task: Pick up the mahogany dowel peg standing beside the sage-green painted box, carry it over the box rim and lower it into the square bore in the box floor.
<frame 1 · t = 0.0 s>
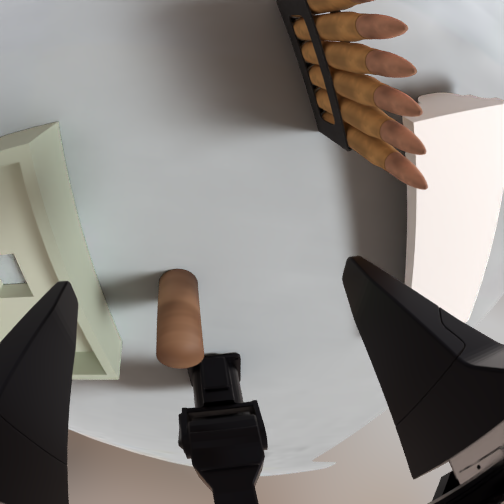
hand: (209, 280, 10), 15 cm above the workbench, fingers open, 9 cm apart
ammunition clip: (310, 62, 19), on the workbench
box: (11, 263, 24), on the workbench
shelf: (428, 226, 31), on the workbench
peg: (178, 284, 29), on the workbench
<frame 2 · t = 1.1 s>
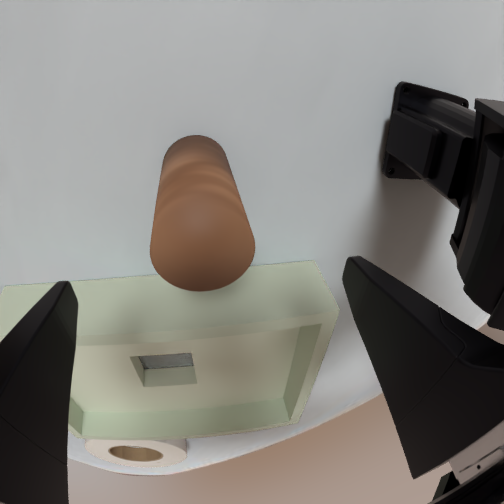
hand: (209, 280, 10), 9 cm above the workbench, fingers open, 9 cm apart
box: (164, 352, 26), on the workbench
peg: (195, 165, 17), on the workbench
roll of tape: (135, 437, 39), on the workbench
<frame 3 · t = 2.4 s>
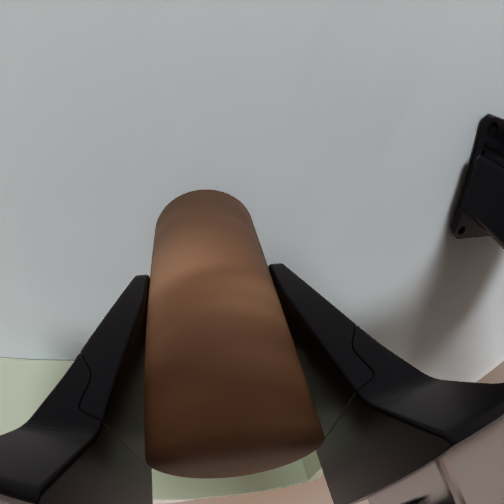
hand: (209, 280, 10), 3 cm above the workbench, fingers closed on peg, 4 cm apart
box: (169, 423, 21), on the workbench
peg: (204, 234, 12), on the workbench, touching gripper
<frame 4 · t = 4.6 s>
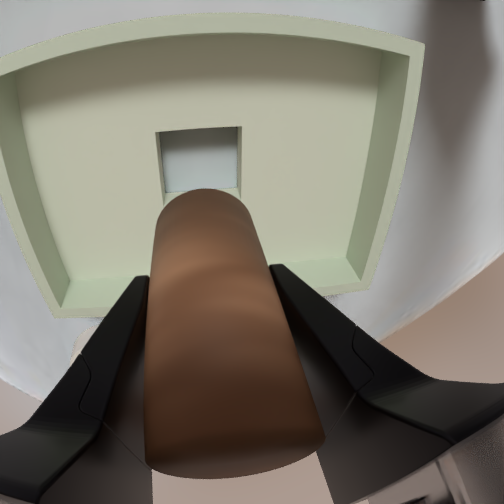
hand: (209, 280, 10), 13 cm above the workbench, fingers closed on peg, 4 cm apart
box: (199, 156, 20), on the workbench
peg: (204, 233, 12), point 10 cm above the workbench, touching gripper
roll of tape: (138, 360, 33), on the workbench
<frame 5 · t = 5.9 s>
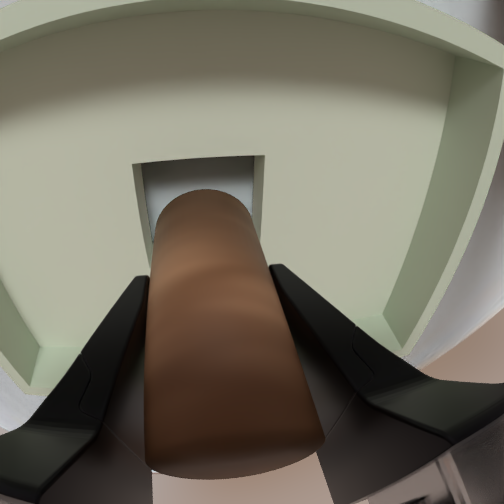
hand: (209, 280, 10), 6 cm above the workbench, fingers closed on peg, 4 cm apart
box: (199, 194, 14), on the workbench
peg: (204, 234, 12), point 3 cm above the workbench, touching gripper
when the fingers open (3 cm above the workbench, at t = 6.7 s): peg stays where it is, resting in box.
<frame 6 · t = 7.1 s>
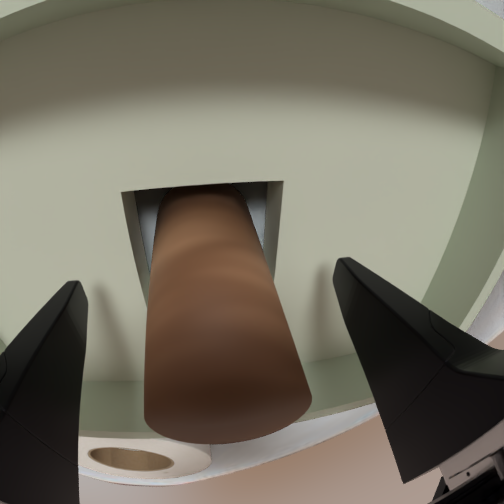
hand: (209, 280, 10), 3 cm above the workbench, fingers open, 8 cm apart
box: (202, 221, 12), on the workbench
peg: (203, 219, 12), resting in box
roll of tape: (130, 434, 25), on the workbench
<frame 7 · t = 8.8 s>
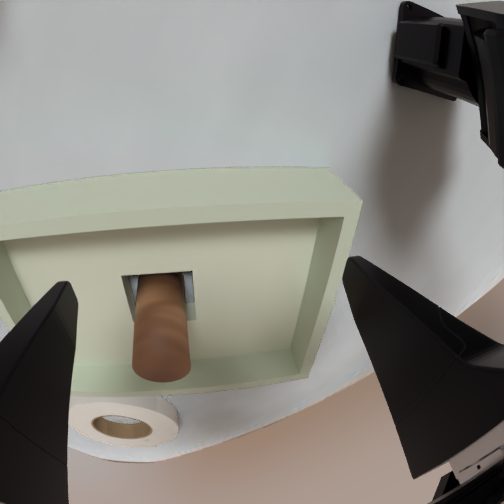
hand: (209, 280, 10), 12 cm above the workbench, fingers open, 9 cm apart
box: (160, 281, 24), on the workbench
peg: (161, 280, 24), resting in box
roll of tape: (122, 409, 36), on the workbench
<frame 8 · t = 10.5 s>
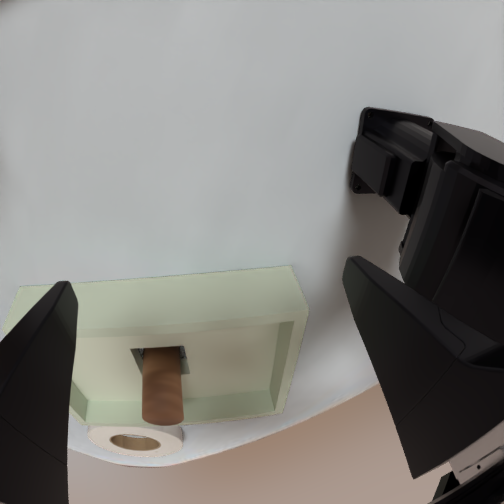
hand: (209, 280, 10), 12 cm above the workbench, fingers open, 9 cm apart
box: (161, 346, 30), on the workbench
peg: (161, 345, 30), resting in box
roll of tape: (135, 427, 42), on the workbench
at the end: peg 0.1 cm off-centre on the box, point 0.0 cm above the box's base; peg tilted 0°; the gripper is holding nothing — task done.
